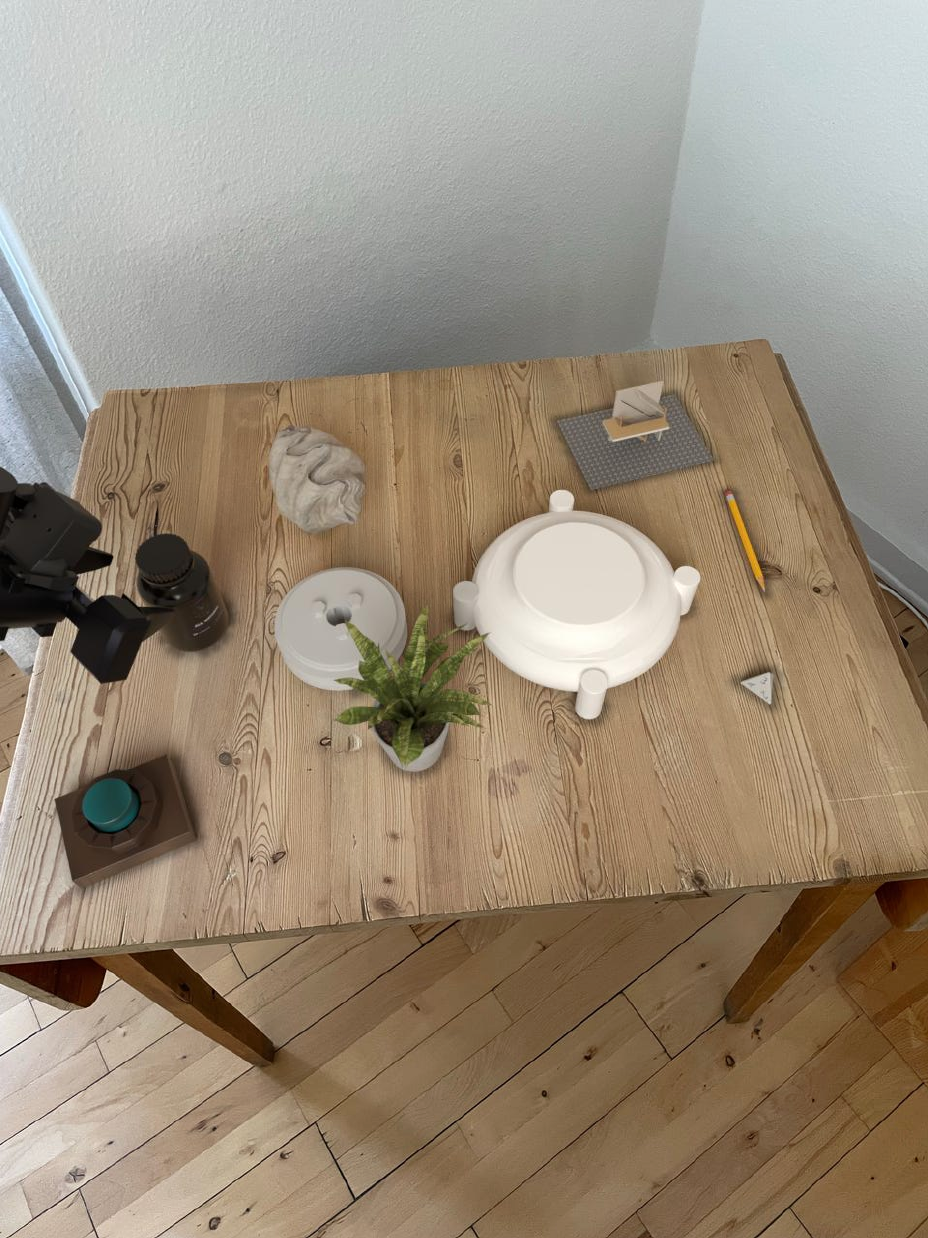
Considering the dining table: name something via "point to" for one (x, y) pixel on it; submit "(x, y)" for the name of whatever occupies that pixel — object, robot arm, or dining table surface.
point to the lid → (338, 624)
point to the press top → (110, 805)
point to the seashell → (315, 479)
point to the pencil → (745, 539)
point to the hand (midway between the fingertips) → (141, 586)
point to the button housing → (143, 839)
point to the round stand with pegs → (575, 601)
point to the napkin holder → (634, 438)
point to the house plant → (411, 696)
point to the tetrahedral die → (761, 686)
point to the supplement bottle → (181, 592)
